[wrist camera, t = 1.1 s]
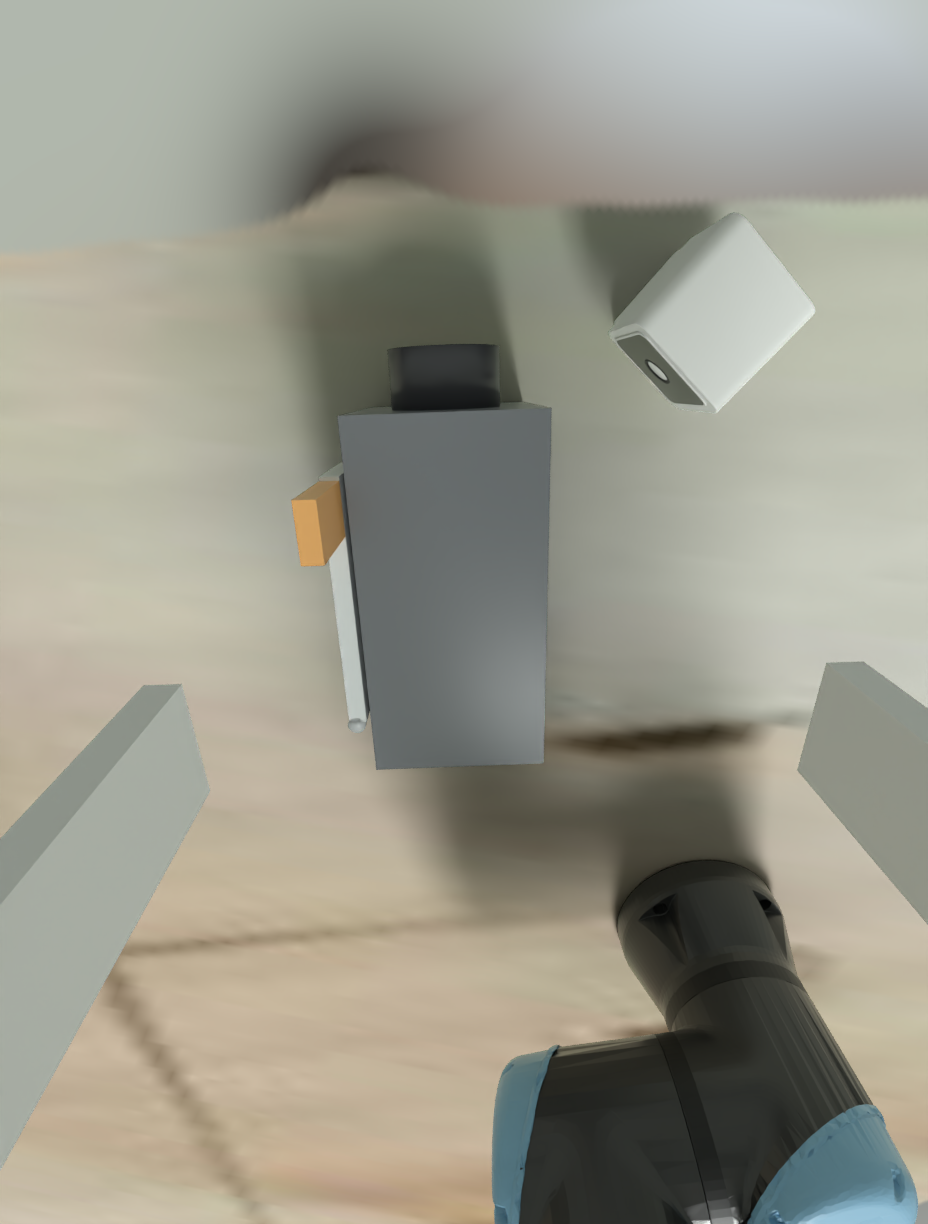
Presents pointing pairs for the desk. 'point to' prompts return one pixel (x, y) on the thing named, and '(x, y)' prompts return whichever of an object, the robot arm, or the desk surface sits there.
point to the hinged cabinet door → (336, 577)
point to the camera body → (451, 560)
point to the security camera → (712, 316)
